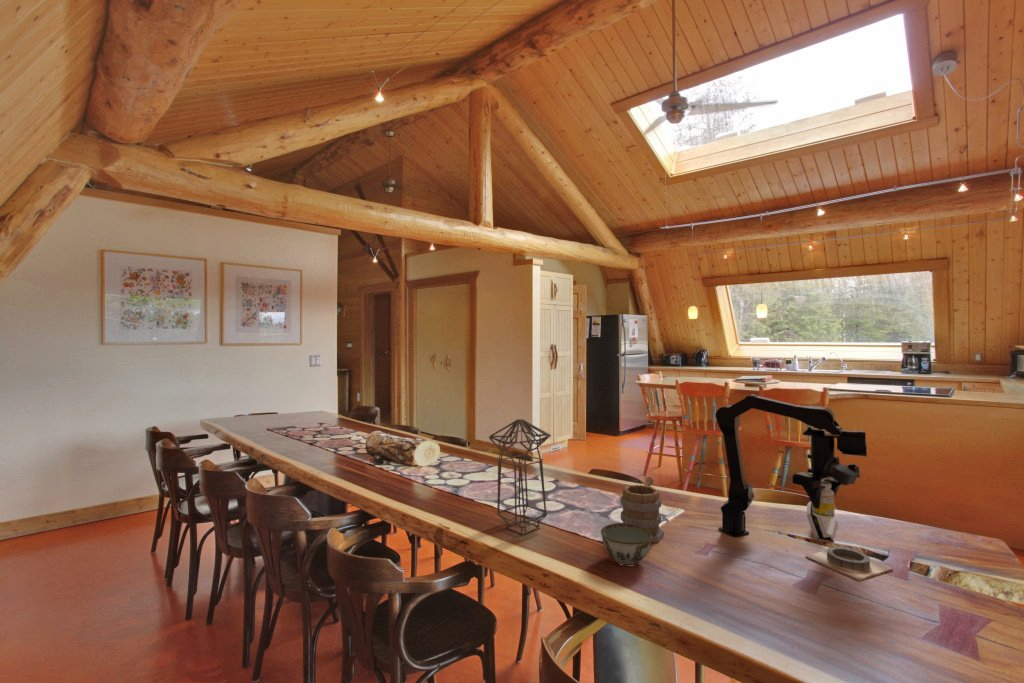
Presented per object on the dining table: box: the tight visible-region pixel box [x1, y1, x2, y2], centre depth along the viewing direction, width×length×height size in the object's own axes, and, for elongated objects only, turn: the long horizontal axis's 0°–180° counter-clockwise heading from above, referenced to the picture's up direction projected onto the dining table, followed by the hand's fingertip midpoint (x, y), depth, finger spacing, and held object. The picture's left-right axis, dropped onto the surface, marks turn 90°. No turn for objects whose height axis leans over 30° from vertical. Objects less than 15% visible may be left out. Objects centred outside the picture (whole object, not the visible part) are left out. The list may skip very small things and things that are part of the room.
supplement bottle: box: [812, 480, 835, 519], centre depth 138 cm, size 5×5×10 cm
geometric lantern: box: [488, 418, 552, 535], centre depth 156 cm, size 16×16×35 cm
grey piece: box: [806, 501, 839, 541], centre depth 154 cm, size 17×5×10 cm, turn 143°
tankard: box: [620, 476, 665, 543], centre depth 154 cm, size 20×13×15 cm, turn 148°
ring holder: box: [805, 546, 894, 582], centre depth 131 cm, size 14×14×2 cm
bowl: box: [600, 522, 652, 566], centre depth 133 cm, size 14×13×8 cm
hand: (823, 506), depth 138 cm, fingers closed on supplement bottle, 5 cm apart
